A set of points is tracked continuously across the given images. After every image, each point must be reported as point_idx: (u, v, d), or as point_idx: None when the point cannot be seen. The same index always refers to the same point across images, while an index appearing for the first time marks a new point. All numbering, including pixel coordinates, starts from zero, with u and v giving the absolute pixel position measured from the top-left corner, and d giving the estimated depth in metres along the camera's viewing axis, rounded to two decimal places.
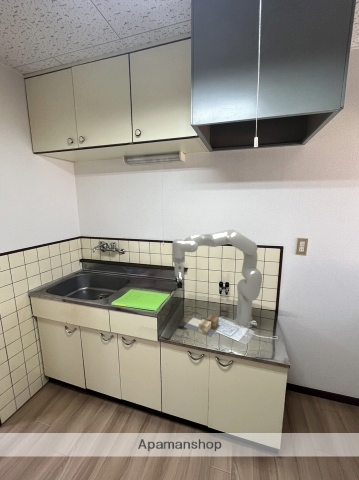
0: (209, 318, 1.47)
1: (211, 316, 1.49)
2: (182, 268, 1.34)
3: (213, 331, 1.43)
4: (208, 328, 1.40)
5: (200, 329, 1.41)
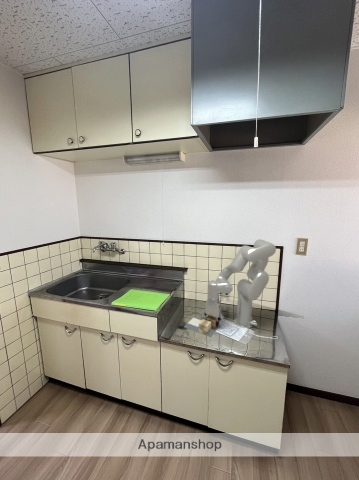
0: (209, 318, 1.47)
1: (211, 316, 1.49)
2: (220, 306, 1.44)
3: (213, 331, 1.43)
4: (208, 328, 1.40)
5: (200, 329, 1.41)
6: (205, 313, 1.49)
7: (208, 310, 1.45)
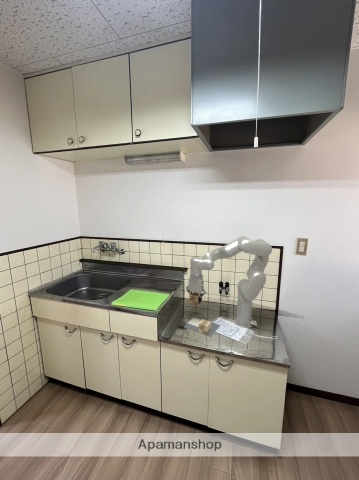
0: (192, 294, 1.48)
1: (194, 293, 1.51)
2: (203, 282, 1.46)
3: (213, 331, 1.43)
4: (208, 328, 1.40)
5: (200, 329, 1.41)
6: None
7: (191, 286, 1.47)
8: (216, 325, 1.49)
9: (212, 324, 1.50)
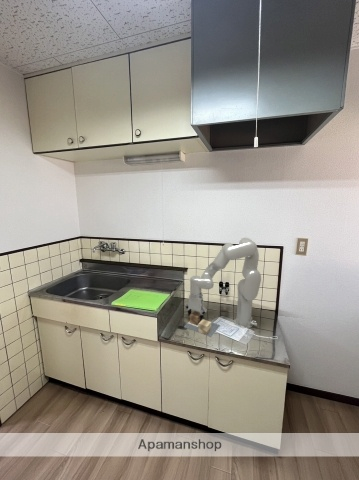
0: (192, 314, 1.51)
1: (194, 312, 1.54)
2: None
3: (213, 331, 1.43)
4: (208, 328, 1.40)
5: (200, 329, 1.41)
6: (187, 306, 1.54)
7: (191, 304, 1.49)
8: (216, 325, 1.49)
9: (212, 324, 1.50)
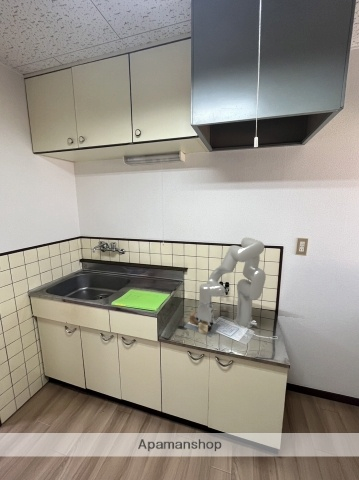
0: (192, 314, 1.51)
1: (194, 312, 1.54)
2: None
3: (213, 331, 1.43)
4: None
5: (200, 329, 1.41)
6: None
7: (200, 314, 1.40)
8: (216, 325, 1.49)
9: None
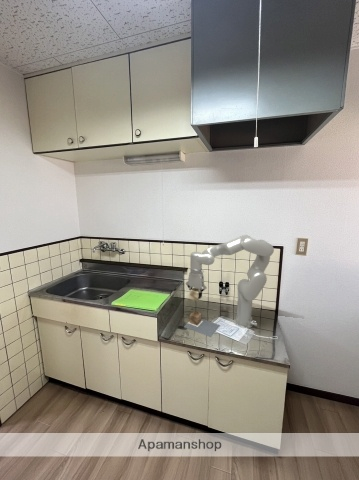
0: (192, 314, 1.51)
1: (194, 312, 1.54)
2: (203, 277, 1.45)
3: (213, 331, 1.43)
4: None
5: (191, 296, 1.47)
6: (188, 285, 1.50)
7: (191, 281, 1.46)
8: (216, 325, 1.49)
9: (212, 324, 1.50)
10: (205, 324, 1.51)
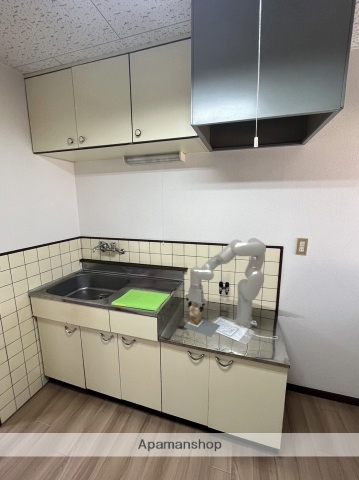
0: None
1: None
2: None
3: (213, 331, 1.43)
4: (199, 311, 1.49)
5: (191, 312, 1.50)
6: (187, 298, 1.53)
7: (191, 296, 1.48)
8: (216, 325, 1.49)
9: (212, 324, 1.50)
10: (205, 324, 1.51)
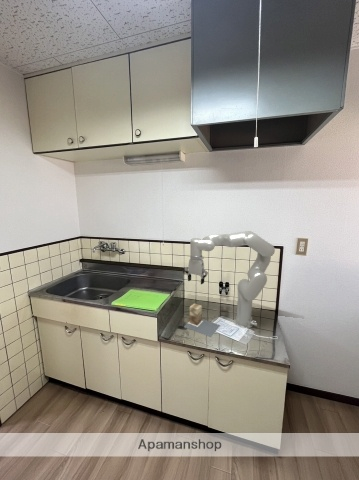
0: None
1: None
2: (203, 264, 1.43)
3: (213, 331, 1.43)
4: (199, 311, 1.49)
5: (191, 312, 1.50)
6: (186, 271, 1.48)
7: (191, 268, 1.44)
8: (216, 325, 1.49)
9: (212, 324, 1.50)
10: (205, 324, 1.51)
